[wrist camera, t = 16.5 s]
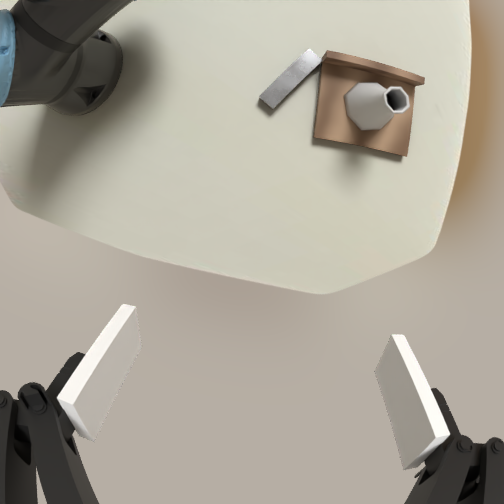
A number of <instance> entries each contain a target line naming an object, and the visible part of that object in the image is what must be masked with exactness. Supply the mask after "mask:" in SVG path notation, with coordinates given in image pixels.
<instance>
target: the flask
mask: <svg viewBox="0 0 504 504" xmlns="http://www.w3.org/2000/svg"><path fill="white" fill-rule="evenodd" d="M344 98H345V104H346V110H347V115H348V116H349V117H350V118H351V120H352V121H353V122H354V123H355V124H356V125H357V126H358V127H359V128H360V129H361V130H380V129H381V128H382V127H383V126H384V125H386V124H387V123H388V122H389V121H390V120H391V119H392V118H393V117H394V114H403V113H404V112H405V111H406V110H407V109H408V108H409V107H410V103H409V97H408V95H407V94H406V92H405V91H404V90H403V89H402V88H401V87H389V88H388V89H385V88H384V87H382V86H381V85H380V84H378V83H377V82H363V83H357V84H356V85H354V86H353V87H352V88H351V89H350V90H349V91H348V92H347V93H346V94H344Z"/></svg>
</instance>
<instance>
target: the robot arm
mask: <svg viewBox="0 0 504 504" xmlns="http://www.w3.org/2000/svg"><path fill="white" fill-rule="evenodd" d="M132 1H133V0H19V1H18V2H17V3H16V4H15V5H14V6H13V8H12V9H11V10H10V11H9V10H7V9H3V10H0V107H8V106H20V105H37V104H45V105H46V106H48V107H50V108H52V109H53V110H55V111H57V112H59V113H61V114H65V115H81V114H85V113H88V112H90V111H92V110H94V109H96V108H97V107H98V106H100V105H101V104H102V103H103V102H104V101H105V100H106V99H107V98H108V96H109V95H110V94H111V92H112V91H113V89H114V87H115V86H116V83H117V81H118V79H119V76H120V73H121V68H122V51H121V47H120V45H119V43H118V41H117V40H116V39H115V38H114V37H113V36H112V35H110V34H109V33H106V32H104V31H102V30H99V28H100V27H101V26H102V25H103V24H105V23H106V22H107V21H108V20H109V19H110V18H112V17H113V16H114V15H115V14H117V13H118V12H119V11H120V10H122V9H123V8H124V7H125V6H127V5H128V4H129V3H131V2H132ZM134 1H136V0H134ZM141 347H142V345H141V338H140V332H139V325H138V319H137V311H136V306H130V305H125V304H122V306H121V307H120V308H119V310H118V311H117V312H116V314H115V315H114V316H113V318H112V319H111V320H110V322H109V323H108V325H107V326H106V327H105V328H104V330H103V331H102V333H101V334H100V335H99V337H98V338H97V339H96V341H95V342H94V344H93V345H92V347H91V348H90V349H89V351H88V352H87V354H83V353H80V352H77V353H76V354H74V355H73V356H71V357H70V358H69V359H68V360H67V362H66V363H65V365H64V367H63V368H62V369H61V370H60V373H58V374H57V376H56V377H55V379H54V380H53V382H52V383H51V385H50V386H49V388H48V389H47V390H46V391H45V389H44V387H43V386H41V384H38V383H35V382H33V383H28V384H25V385H24V386H23V387H21V388H20V390H19V392H18V399H19V400H15V399H13V398H12V396H11V394H10V393H9V392H7V391H3V390H1V391H0V504H38V502H37V485H36V467H37V471H38V475H39V478H40V482H41V485H42V489H43V492H44V495H45V498H46V501H47V504H99V503H98V500H97V498H96V496H95V494H94V492H93V489H92V487H91V484H90V482H89V480H88V477H87V474H86V472H85V469H84V467H83V464H82V461H81V458H80V455H79V452H78V450H77V447H76V443H75V440H74V438H73V436H72V434H73V432H74V430H76V431H77V433H78V434H79V436H81V437H83V438H86V439H88V440H91V441H93V442H94V441H95V438H96V437H97V435H98V433H99V430H100V428H101V426H102V424H103V422H104V420H105V418H106V416H107V414H108V412H109V410H110V408H111V406H112V404H113V402H114V400H115V398H116V396H117V394H118V392H119V390H120V387H121V386H122V384H123V382H124V380H125V378H126V376H127V374H128V372H129V370H130V368H131V366H132V364H133V363H134V361H135V359H136V357H137V355H138V353H139V351H140V350H141ZM374 372H375V374H376V378H377V381H378V384H379V387H380V390H381V393H382V396H383V399H384V402H385V406H386V409H387V412H388V415H389V419H390V422H391V425H392V429H393V433H394V436H395V440H396V443H397V447H398V451H399V454H400V458H401V462H402V466H403V470H406V469H411V468H416V467H418V466H419V465H420V464H421V463H422V462H423V461H425V465H426V466H425V467H424V468H423V469H422V470H421V471H420V472H418V473H417V474H416V475H415V478H416V477H418V476H419V475H420V476H419V478H418V480H417V482H416V484H415V485H414V487H413V489H412V491H411V493H410V495H409V496H408V498H407V500H406V502H405V503H404V504H504V442H503V441H502V440H501V439H499V438H496V437H493V438H491V439H489V440H488V441H487V443H485V444H478V443H473V442H472V440H471V439H470V438H468V437H467V436H464V435H461V434H460V432H459V430H458V427H457V425H456V423H455V421H454V418H453V416H452V414H451V411H449V407H448V405H446V404H447V403H446V401H445V398H444V396H443V395H442V394H441V393H440V392H439V390H438V389H436V388H432V389H430V387H429V384H428V382H427V380H426V378H425V376H424V374H423V372H422V370H421V368H420V366H419V364H418V362H417V360H416V358H415V356H414V354H413V352H412V350H411V348H410V346H409V344H408V342H407V340H406V338H405V336H404V335H394V334H392V335H391V337H390V339H389V341H388V344H387V346H386V348H385V350H384V353H383V355H382V357H381V359H380V361H379V363H378V365H377V367H376V370H375V371H374Z"/></svg>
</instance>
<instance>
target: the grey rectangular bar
mask: <svg viewBox="0 0 504 504" xmlns="http://www.w3.org/2000/svg"><path fill="white" fill-rule="evenodd" d="M322 61H323V60H322V59H321V58H319V57H318V56H317V55H316V54H315V53H314V52H312V51H311V50H310V49H308V50H307V51H305V52H304V53H303V54H302V55H301V56H300V57H299V58H298V59H297V60H296V61H295V62H294V63H293V64H291V65H290V66H289V67H288V68H287V69H286V70H285V71H284V72H283V73H282V74H281V75H280V76H279V77H278V78H277V79H276V80H275V81H274V82H273V83H272V84H271V85H270V86H269V87H268V88H267V89H266V90H265V91H264V92H263V93H262V94H261V95H260V96H259V98H260V99H261V100H262V101H263V102H265V103H266V104H267V105H268V106H269V107H271V108H272V109H274V108H275V107H276V106H277V105H278V104H279V103H280V102H281V101H282V100H283V99H284V98H285V97H286V96H287V95H288V94H289V93H290V92H291V91H292V90H293V89H294V88H295V87H296V86H297V85H298V84H299V83H300V82H301V81H302V80H303V79H304V78H305V77H306V76H307V75H308V74H309V73H310V72H312V71H313V70H314V69H315V68H316V67H317V66H318V65H319V64H320V63H321V62H322Z"/></svg>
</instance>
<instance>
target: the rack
mask: <svg viewBox="0 0 504 504" xmlns="http://www.w3.org/2000/svg"><path fill="white" fill-rule="evenodd" d="M322 60H323V61H322V62H321V71H320V81H319V91H318V100H317V109H316V118H315V127H314V135H313V137H315V138H321V139H327V140H333V141H338V142H344V143H349V144H354V145H359V146H363V147H368V148H373V149H377V150H381V151H386V152H390V153H394V154H398V155H402V156H406V157H407V153H408V147H409V140H410V132H411V124H412V115H413V105H414V93H415V86H419V85H423V84H424V81H425V78H424V77H421V76H419V75H416V74H413V73H410V72H407V71H404V70H401V69H398V68H395V67H392V66H389V65H385V64H382V63H379V62H375V61H371V60H368V59H364V58H360V57H356V56H351V55H347V54H343V53H338V52H333V51H328V50H327V51H326V53H325V54H324V56H323V57H322ZM363 82H377V83H378V84H380V85H381V86H382V87H384V88H385V89H388V88H389V87H401V88H402V89H403V90H404V91H405V92H406V94H407V95H408V97H409V103H410V107H409V108H408V109H407V110H406V111H405V112H404V113H403V114H394V117H393V118H392V119H391V120H390V121H389V122H388V123H387V124H386V125H384V126H383V127H382V128H381V129H380V130H361V129H360V128H359V127H358V126H357V125H356V124H355V123H354V122H353V121H352V120H351V118H350V117H349V116H348V115H347V110H346V104H345V98H344V94H346V93H347V92H348V91H349V90H350V89H351V88H352V87H353V86H354V85H356V84H357V83H363Z"/></svg>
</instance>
